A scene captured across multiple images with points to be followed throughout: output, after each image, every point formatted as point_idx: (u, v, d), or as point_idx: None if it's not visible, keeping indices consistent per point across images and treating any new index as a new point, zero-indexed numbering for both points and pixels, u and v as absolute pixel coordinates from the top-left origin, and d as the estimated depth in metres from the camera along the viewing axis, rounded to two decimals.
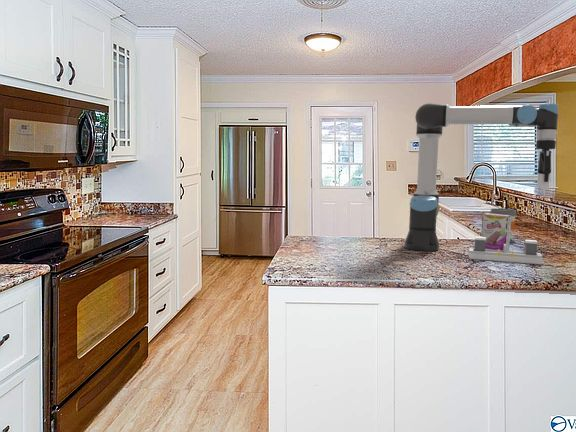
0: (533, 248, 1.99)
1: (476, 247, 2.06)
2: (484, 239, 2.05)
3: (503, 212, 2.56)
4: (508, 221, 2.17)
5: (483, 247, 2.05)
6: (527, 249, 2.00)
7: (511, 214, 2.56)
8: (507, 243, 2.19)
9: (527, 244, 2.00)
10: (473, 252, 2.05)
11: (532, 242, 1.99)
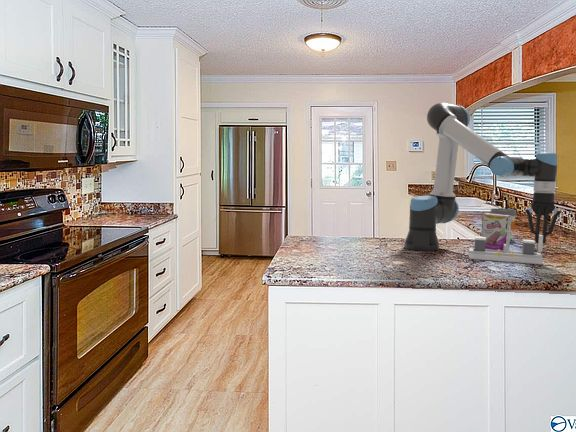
0: (531, 248, 1.99)
1: (476, 247, 2.06)
2: (484, 239, 2.05)
3: (503, 212, 2.56)
4: (508, 221, 2.17)
5: (483, 247, 2.05)
6: (525, 249, 2.00)
7: (511, 214, 2.56)
8: (507, 243, 2.19)
9: (525, 244, 2.00)
10: (473, 252, 2.05)
11: (530, 242, 1.99)
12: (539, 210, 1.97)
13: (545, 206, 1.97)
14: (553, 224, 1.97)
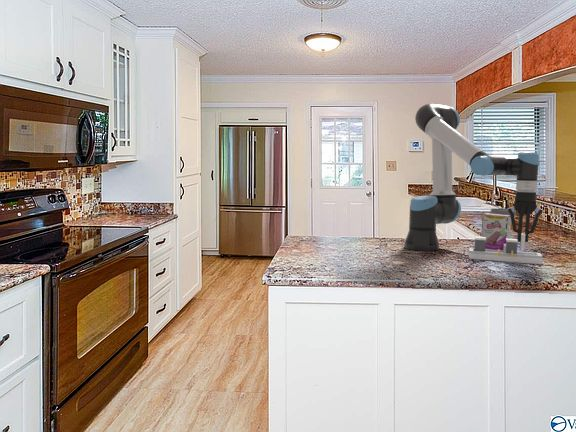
0: (514, 247, 2.01)
1: (476, 247, 2.06)
2: (484, 239, 2.05)
3: (503, 212, 2.56)
4: (508, 221, 2.17)
5: (483, 247, 2.05)
6: (508, 248, 2.02)
7: None
8: None
9: (508, 243, 2.02)
10: (473, 252, 2.05)
11: (512, 241, 2.01)
12: (521, 209, 1.99)
13: (527, 205, 1.99)
14: (535, 223, 1.99)
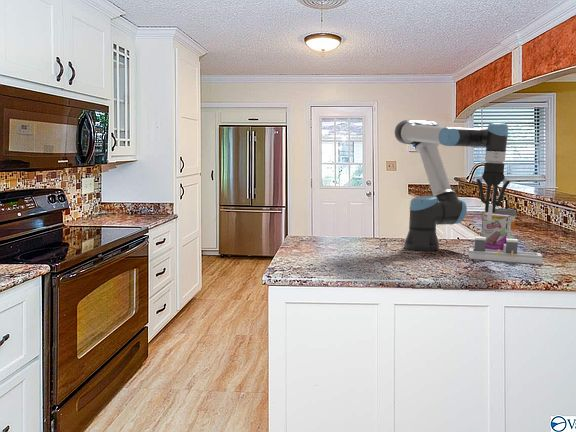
0: (514, 247, 2.01)
1: (476, 247, 2.06)
2: (484, 239, 2.05)
3: (503, 212, 2.56)
4: (508, 221, 2.17)
5: (483, 247, 2.05)
6: (508, 248, 2.02)
7: (511, 214, 2.56)
8: None
9: (508, 243, 2.02)
10: (473, 252, 2.05)
11: (513, 241, 2.01)
12: (489, 180, 2.02)
13: (495, 176, 2.02)
14: (502, 193, 2.02)
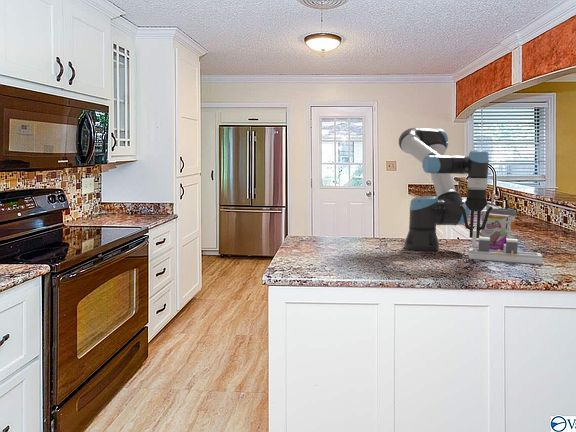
0: (514, 247, 2.01)
1: (480, 247, 2.06)
2: (488, 239, 2.04)
3: (503, 212, 2.56)
4: (508, 221, 2.17)
5: (487, 247, 2.05)
6: (508, 248, 2.02)
7: (511, 214, 2.56)
8: None
9: (508, 243, 2.02)
10: (473, 252, 2.05)
11: (513, 241, 2.01)
12: (472, 206, 2.05)
13: (478, 202, 2.05)
14: (486, 219, 2.04)
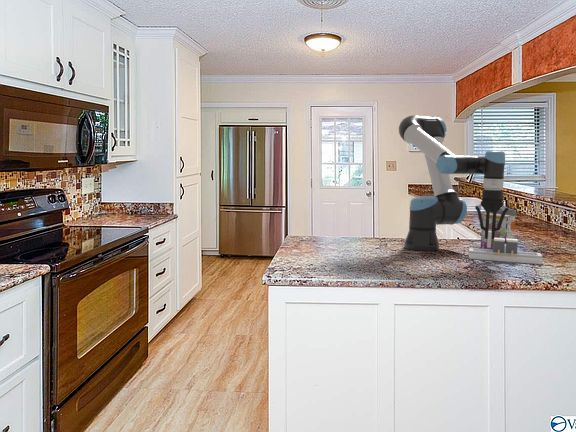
0: (514, 247, 2.01)
1: (495, 249, 2.04)
2: (503, 240, 2.02)
3: None
4: (508, 221, 2.17)
5: (502, 248, 2.03)
6: (508, 248, 2.02)
7: (511, 214, 2.56)
8: None
9: (508, 243, 2.02)
10: (473, 252, 2.05)
11: (513, 241, 2.01)
12: (488, 207, 2.03)
13: (494, 203, 2.03)
14: (501, 220, 2.02)
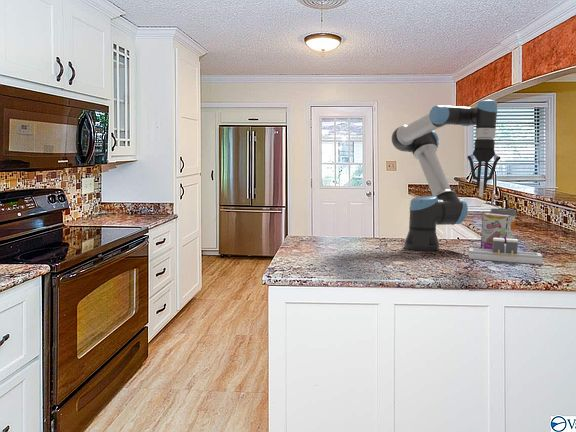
0: (514, 247, 2.01)
1: (494, 248, 2.04)
2: (503, 240, 2.02)
3: (503, 212, 2.56)
4: (508, 221, 2.17)
5: (502, 248, 2.03)
6: (508, 248, 2.02)
7: (511, 214, 2.56)
8: None
9: (508, 243, 2.02)
10: (473, 252, 2.05)
11: (513, 241, 2.01)
12: (480, 156, 2.05)
13: (485, 152, 2.05)
14: (493, 169, 2.05)
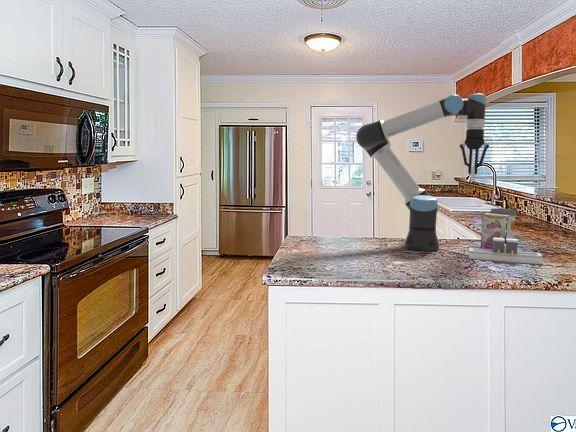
0: (514, 247, 2.01)
1: (494, 248, 2.04)
2: (503, 240, 2.02)
3: (503, 212, 2.56)
4: (508, 221, 2.17)
5: (502, 248, 2.03)
6: (508, 248, 2.02)
7: (511, 214, 2.56)
8: None
9: (508, 243, 2.02)
10: (473, 252, 2.05)
11: (513, 241, 2.01)
12: (471, 144, 2.27)
13: (476, 141, 2.27)
14: (483, 156, 2.27)
